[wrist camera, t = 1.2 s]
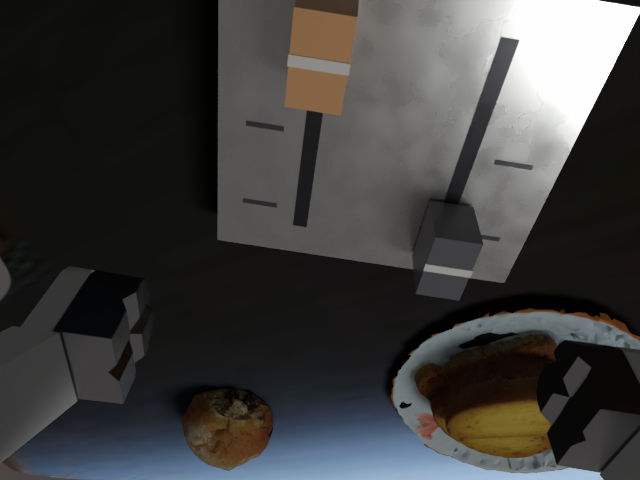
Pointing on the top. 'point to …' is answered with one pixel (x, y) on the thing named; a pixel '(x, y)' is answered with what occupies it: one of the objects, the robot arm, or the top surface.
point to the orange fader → (320, 54)
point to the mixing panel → (409, 123)
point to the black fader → (446, 250)
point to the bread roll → (227, 427)
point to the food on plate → (494, 386)
